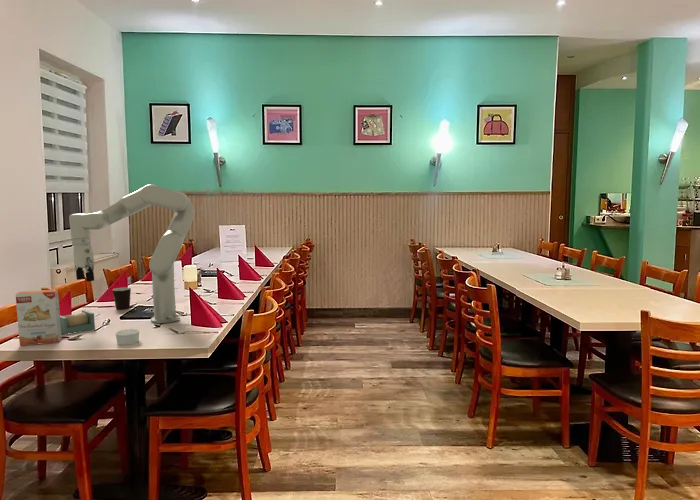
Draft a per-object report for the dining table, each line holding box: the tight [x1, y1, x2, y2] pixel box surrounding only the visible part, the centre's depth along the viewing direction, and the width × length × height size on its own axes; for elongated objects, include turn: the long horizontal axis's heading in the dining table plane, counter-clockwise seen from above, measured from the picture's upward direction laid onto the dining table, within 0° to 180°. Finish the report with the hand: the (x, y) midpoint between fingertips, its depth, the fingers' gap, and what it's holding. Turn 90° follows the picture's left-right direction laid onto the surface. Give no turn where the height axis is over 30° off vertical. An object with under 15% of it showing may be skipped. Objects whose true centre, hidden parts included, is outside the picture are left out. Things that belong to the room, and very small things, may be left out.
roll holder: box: [60, 309, 96, 335], centre depth 238 cm, size 10×12×7 cm
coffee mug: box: [112, 287, 132, 311], centre depth 281 cm, size 12×9×10 cm
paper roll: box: [63, 312, 88, 328], centre depth 238 cm, size 8×6×6 cm
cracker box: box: [15, 289, 62, 346], centre depth 219 cm, size 14×6×21 cm, turn 106°
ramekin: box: [114, 328, 140, 346], centre depth 218 cm, size 9×9×4 cm
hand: (85, 280), depth 243 cm, fingers open, 9 cm apart
